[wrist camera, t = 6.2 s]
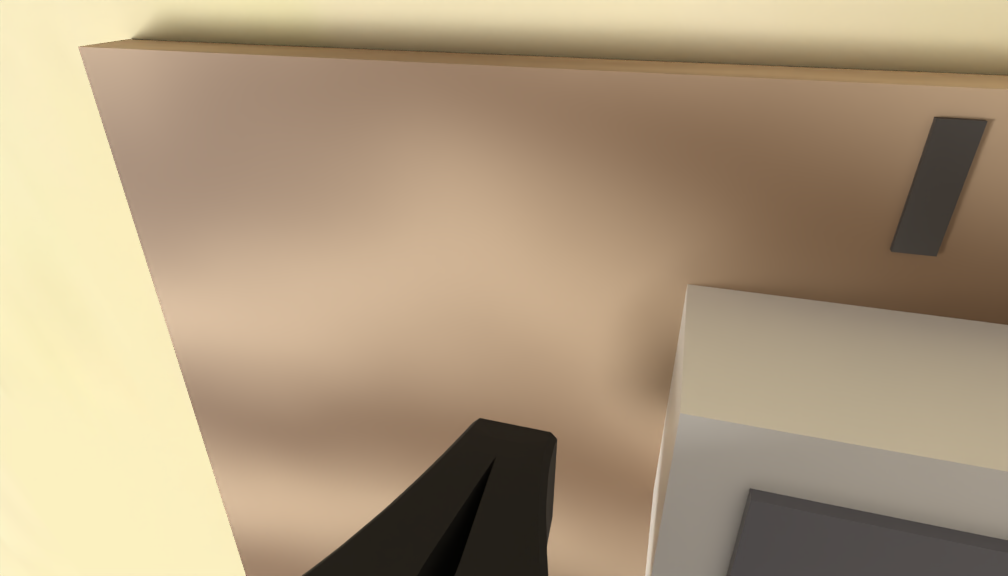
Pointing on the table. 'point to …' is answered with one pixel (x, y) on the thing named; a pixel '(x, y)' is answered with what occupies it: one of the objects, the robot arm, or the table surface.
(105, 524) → the table surface
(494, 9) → the table surface
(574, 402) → the subfloor
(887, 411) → the white open box
